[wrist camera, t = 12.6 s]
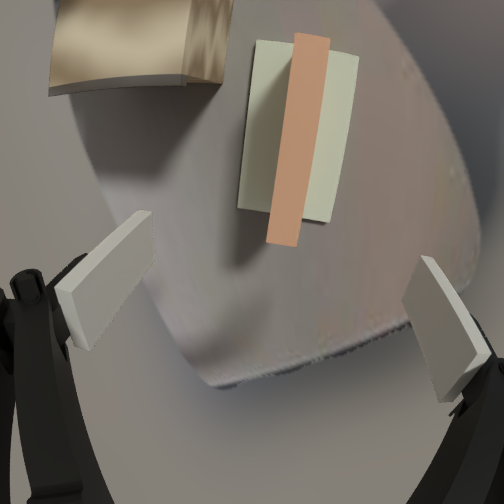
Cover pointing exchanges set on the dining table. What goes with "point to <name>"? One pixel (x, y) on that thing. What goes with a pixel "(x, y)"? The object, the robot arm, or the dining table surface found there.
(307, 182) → the tan rectangular slab
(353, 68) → the mat
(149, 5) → the brown boxy piece
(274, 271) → the dining table surface
